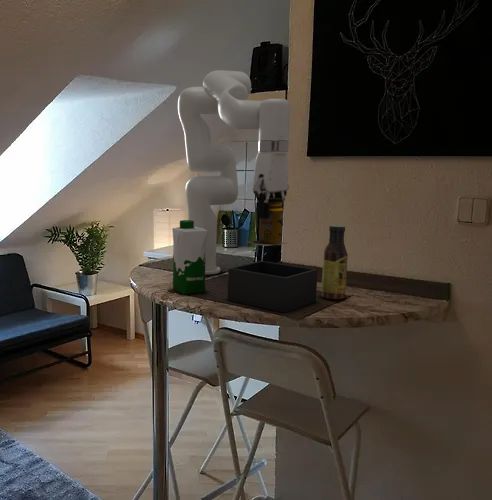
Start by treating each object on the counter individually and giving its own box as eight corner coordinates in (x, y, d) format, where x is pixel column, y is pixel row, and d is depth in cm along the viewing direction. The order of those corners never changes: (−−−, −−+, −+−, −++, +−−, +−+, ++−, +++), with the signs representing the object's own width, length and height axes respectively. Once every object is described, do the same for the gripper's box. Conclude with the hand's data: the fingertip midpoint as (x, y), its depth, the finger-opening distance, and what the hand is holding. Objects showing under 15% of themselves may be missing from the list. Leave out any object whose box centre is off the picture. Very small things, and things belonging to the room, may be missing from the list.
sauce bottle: (341, 301, 155) (346, 228, 152) (318, 298, 158) (322, 226, 155) (347, 296, 160) (351, 225, 157) (324, 293, 164) (328, 223, 160)
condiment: (289, 243, 153) (291, 198, 151) (266, 246, 149) (268, 199, 147) (268, 240, 159) (270, 196, 157) (246, 243, 155) (247, 197, 153)
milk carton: (195, 286, 173) (196, 219, 169) (210, 293, 164) (211, 222, 161) (168, 288, 169) (169, 220, 166) (182, 295, 161) (183, 224, 158)
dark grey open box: (227, 300, 156) (228, 268, 155) (260, 290, 167) (261, 260, 166) (284, 313, 144) (286, 278, 143) (316, 301, 155) (317, 269, 154)
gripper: (278, 148, 159) (275, 213, 162) (241, 147, 147) (239, 218, 150) (303, 148, 154) (300, 215, 157) (266, 147, 142) (264, 221, 145)
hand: (270, 216), depth 153 cm, fingers closed on condiment, 6 cm apart
